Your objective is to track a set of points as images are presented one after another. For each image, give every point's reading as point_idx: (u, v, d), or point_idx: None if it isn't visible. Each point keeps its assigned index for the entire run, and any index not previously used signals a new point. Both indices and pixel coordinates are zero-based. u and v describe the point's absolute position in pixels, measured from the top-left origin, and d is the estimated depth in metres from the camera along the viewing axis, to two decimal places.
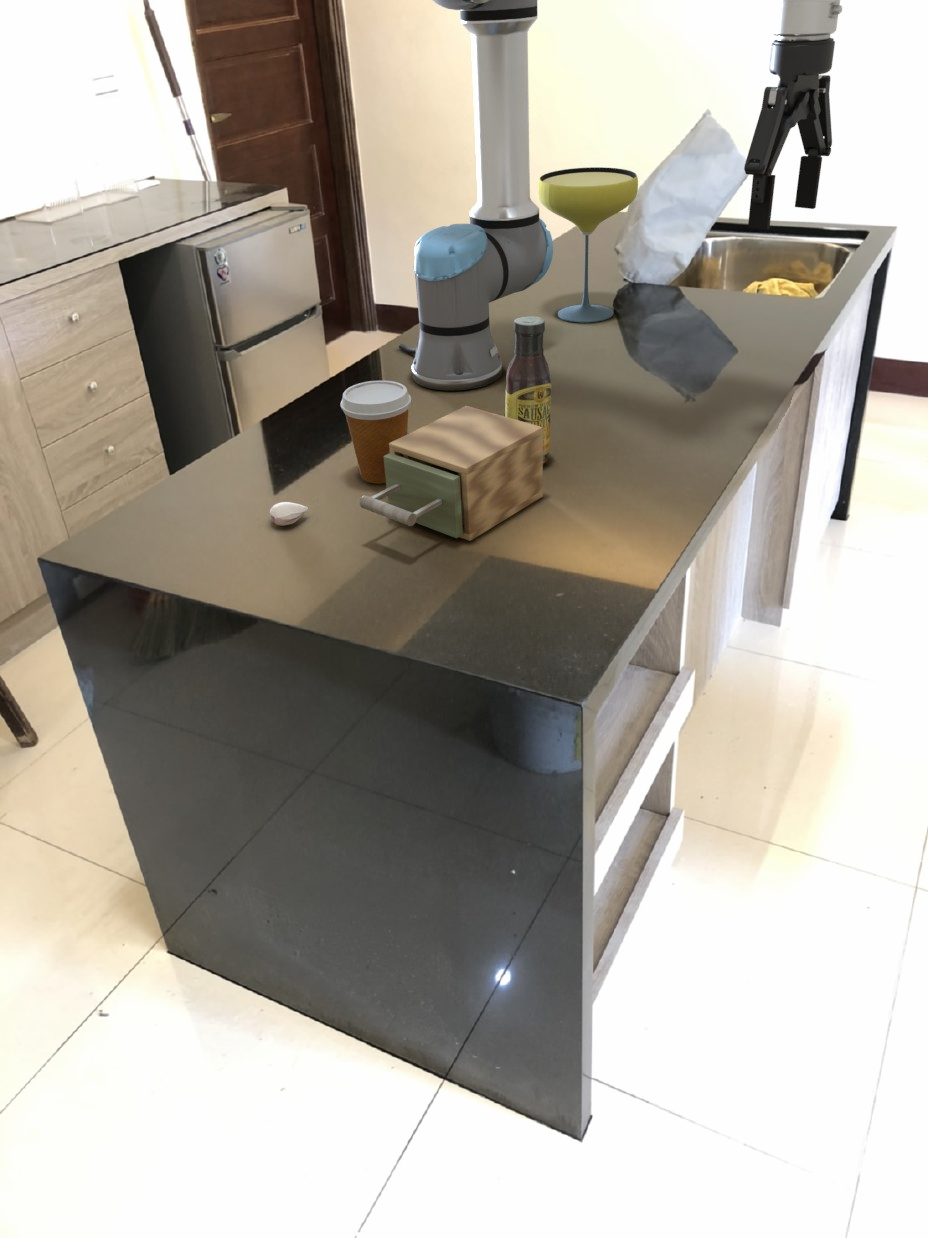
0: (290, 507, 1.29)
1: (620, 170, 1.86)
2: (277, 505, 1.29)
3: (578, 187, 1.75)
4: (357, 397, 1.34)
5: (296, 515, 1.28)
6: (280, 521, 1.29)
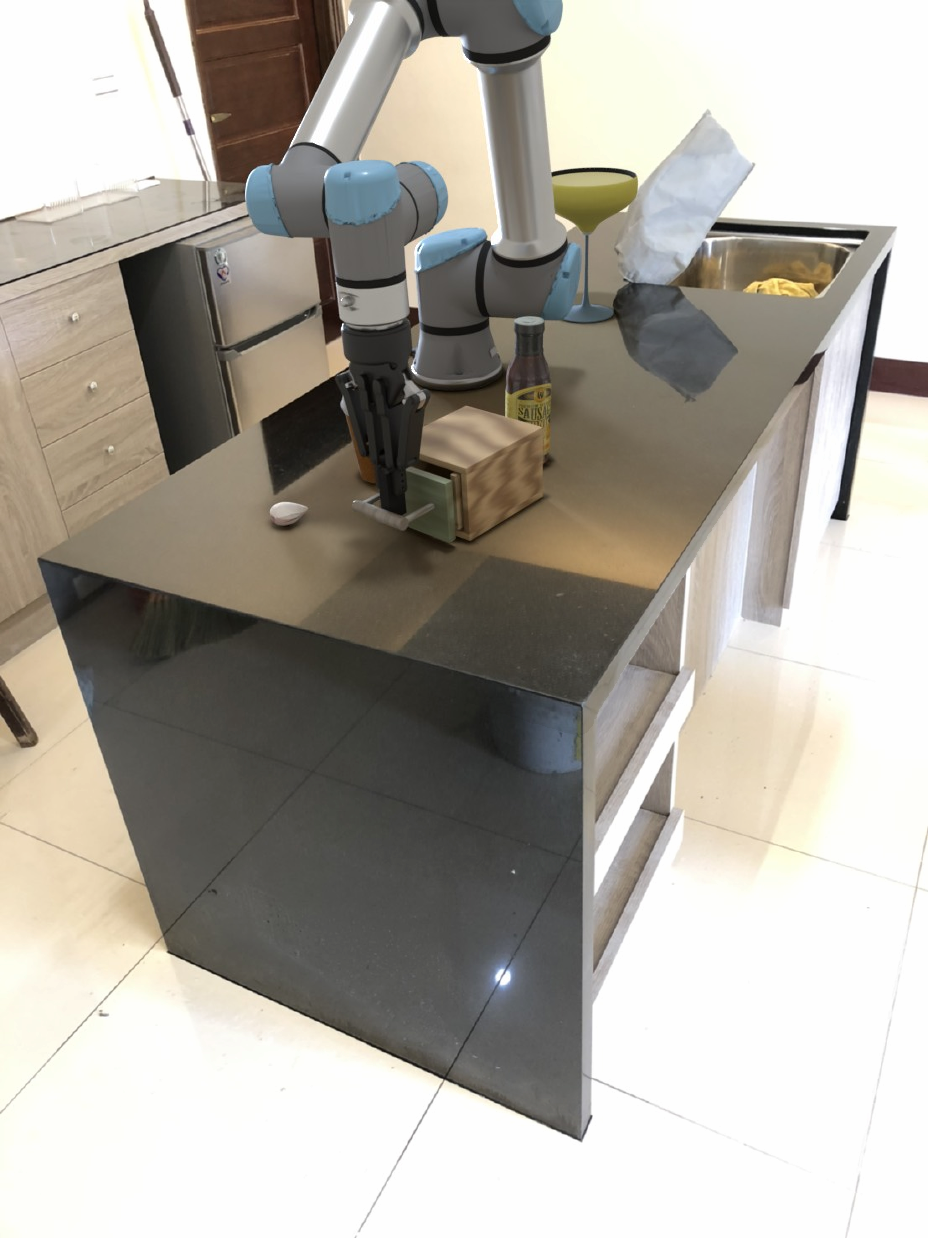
0: (290, 507, 1.29)
1: (620, 170, 1.86)
2: (277, 505, 1.29)
3: (578, 187, 1.75)
4: None
5: (296, 515, 1.28)
6: (280, 521, 1.29)
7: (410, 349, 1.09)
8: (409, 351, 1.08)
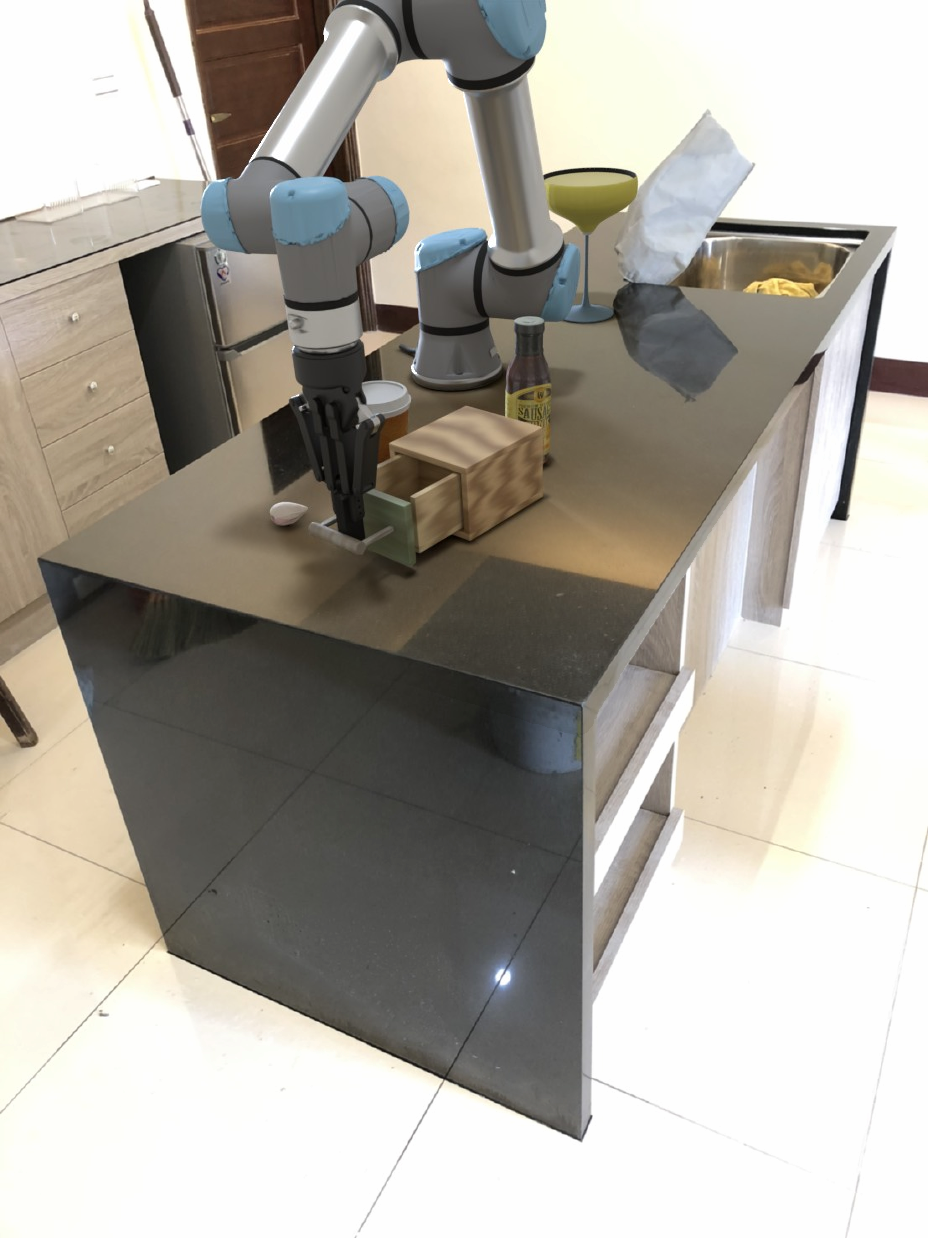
0: (290, 507, 1.29)
1: (620, 170, 1.86)
2: (277, 505, 1.29)
3: (578, 187, 1.75)
4: None
5: (296, 515, 1.28)
6: (280, 521, 1.29)
7: (364, 372, 1.05)
8: (363, 374, 1.04)
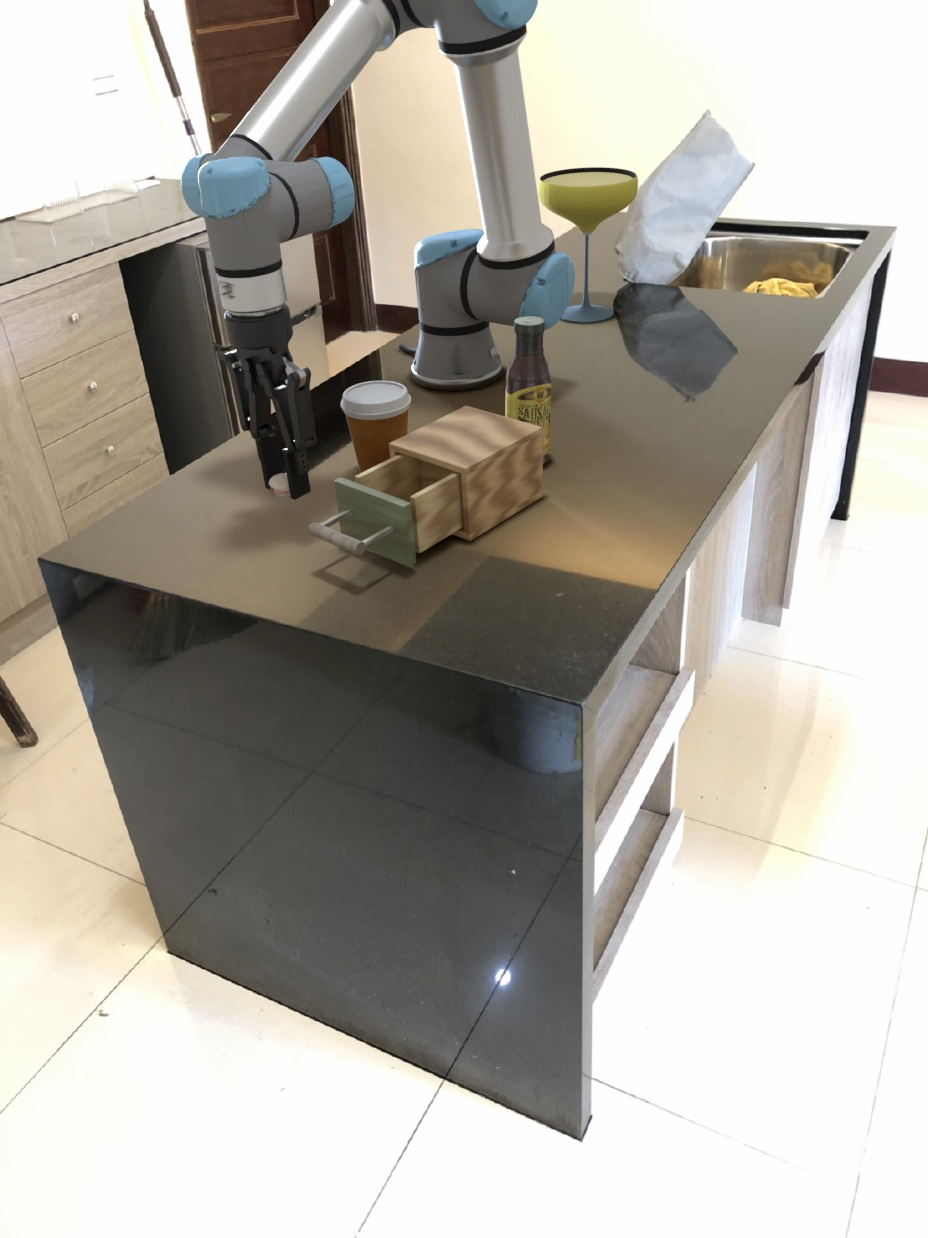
0: None
1: (620, 170, 1.86)
2: (276, 476, 1.27)
3: (578, 187, 1.75)
4: (357, 397, 1.34)
5: None
6: (279, 492, 1.27)
7: (290, 334, 1.16)
8: (288, 336, 1.16)
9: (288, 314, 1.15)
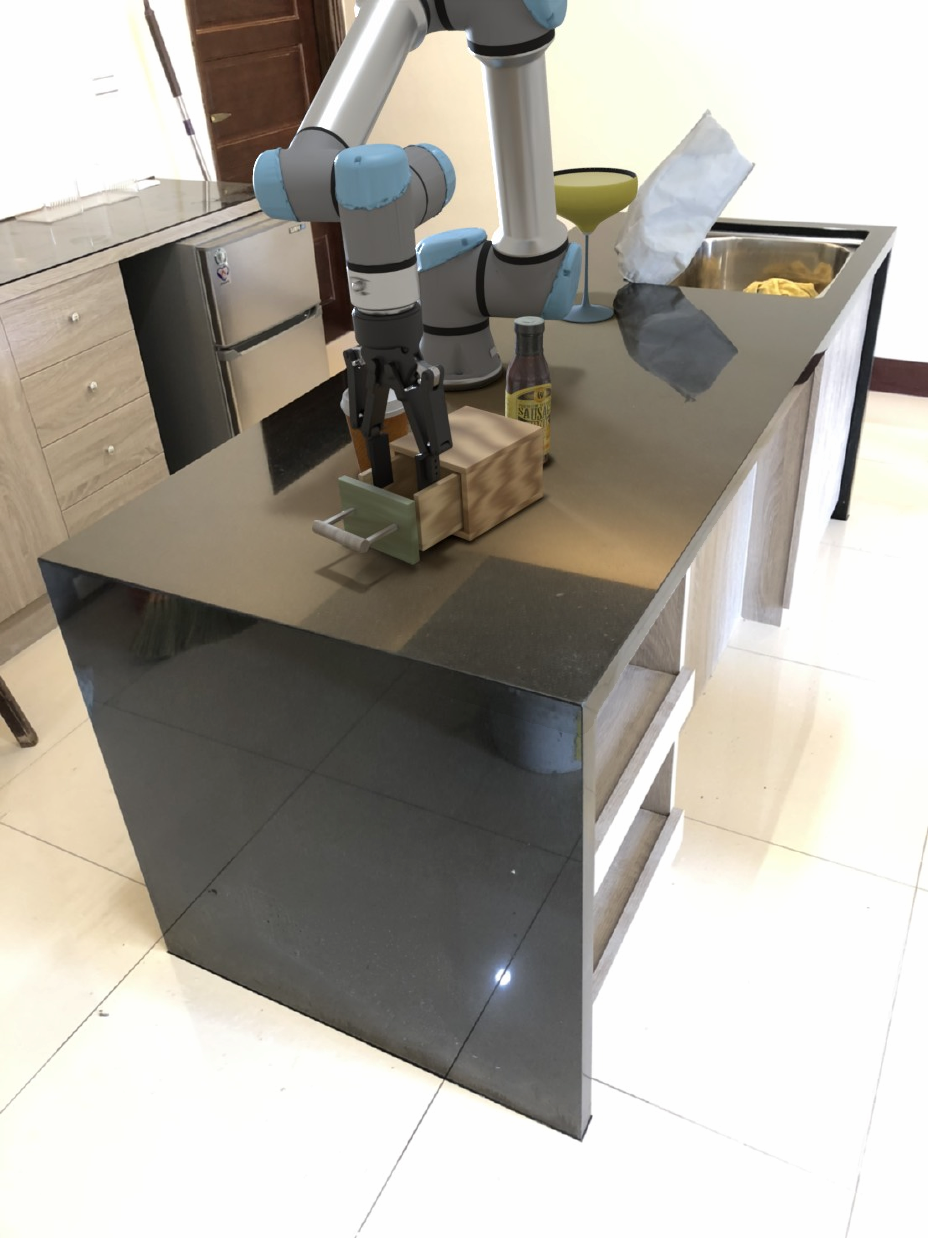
0: None
1: (620, 170, 1.86)
2: None
3: (578, 187, 1.75)
4: None
5: None
6: None
7: (421, 333, 1.09)
8: (420, 335, 1.09)
9: (420, 312, 1.08)
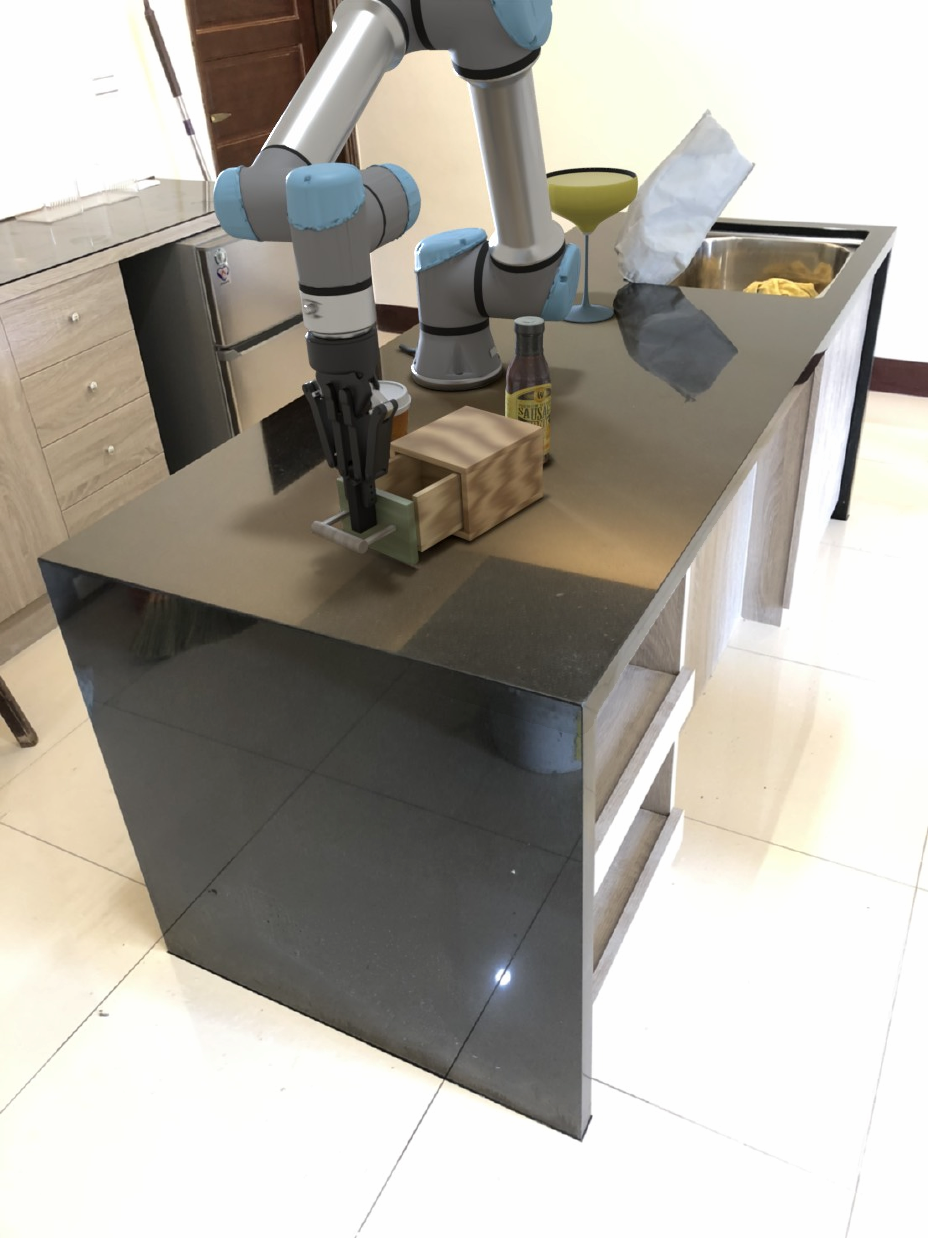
0: None
1: (620, 170, 1.86)
2: None
3: (578, 187, 1.75)
4: None
5: None
6: None
7: (377, 358, 1.05)
8: (376, 360, 1.05)
9: (376, 336, 1.05)
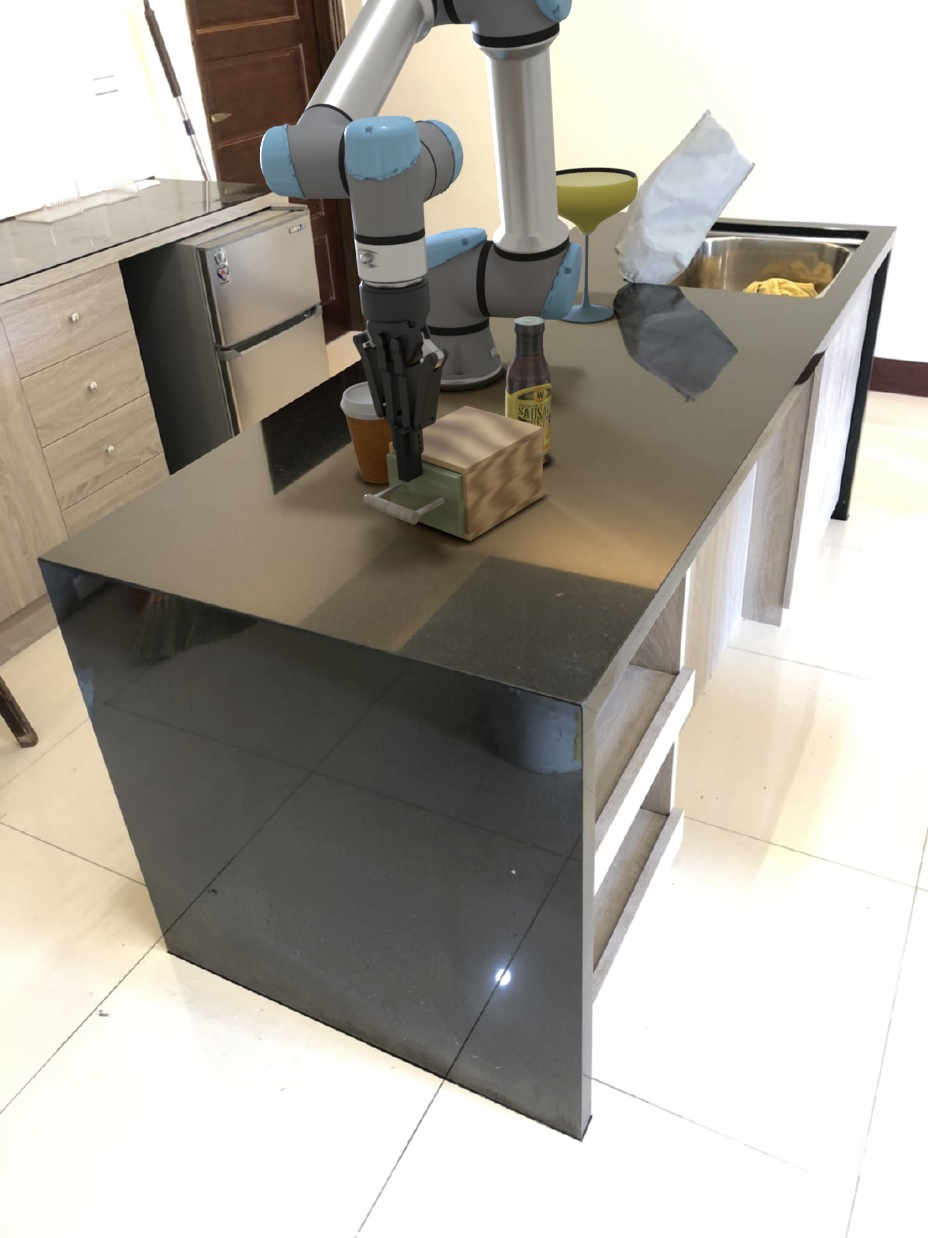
0: None
1: (620, 170, 1.86)
2: None
3: (578, 187, 1.75)
4: (357, 397, 1.34)
5: None
6: None
7: (428, 308, 1.09)
8: (427, 309, 1.09)
9: (428, 286, 1.08)
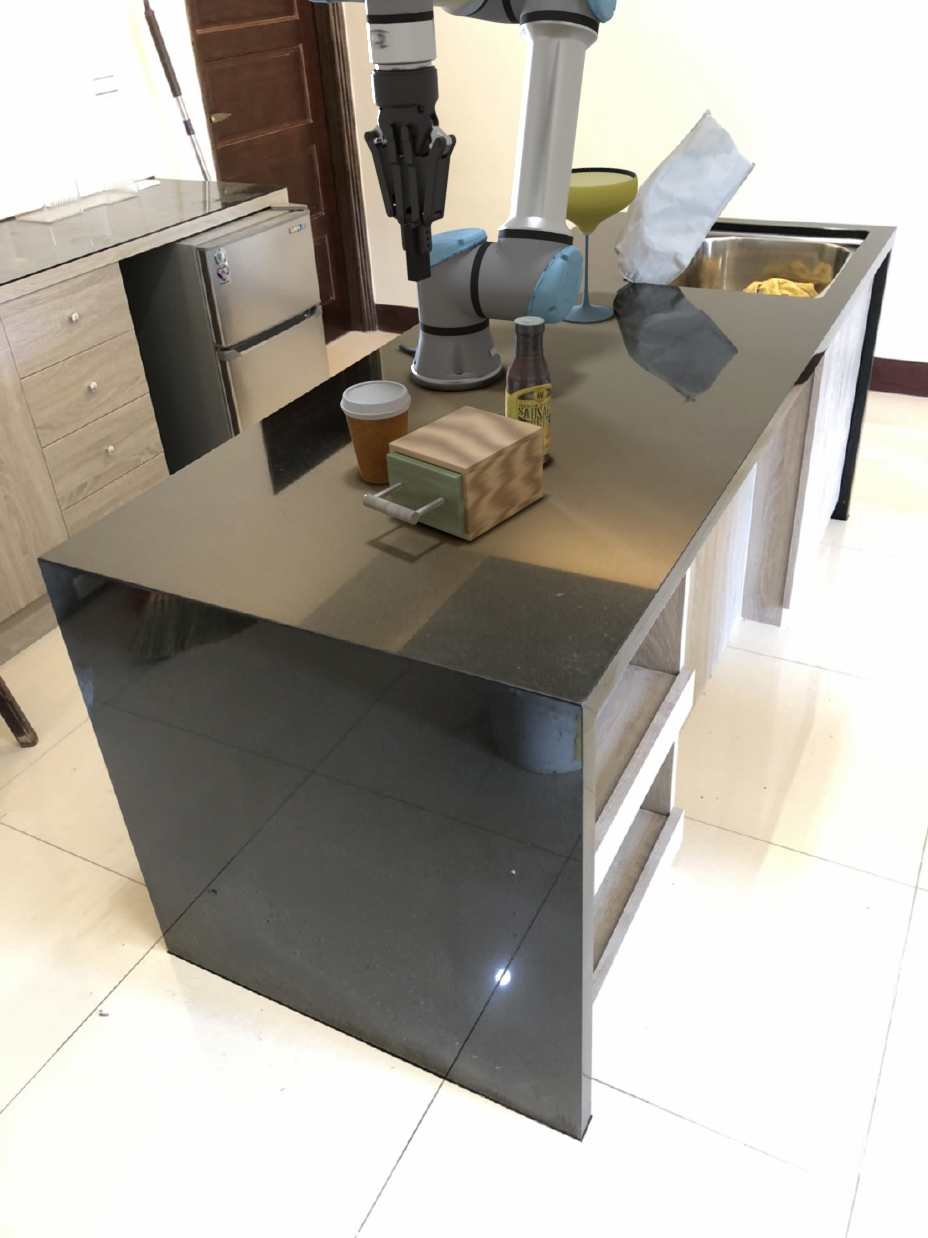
0: None
1: (620, 170, 1.86)
2: None
3: (578, 187, 1.75)
4: (357, 397, 1.34)
5: None
6: None
7: (437, 95, 1.14)
8: (436, 96, 1.14)
9: (436, 73, 1.13)
